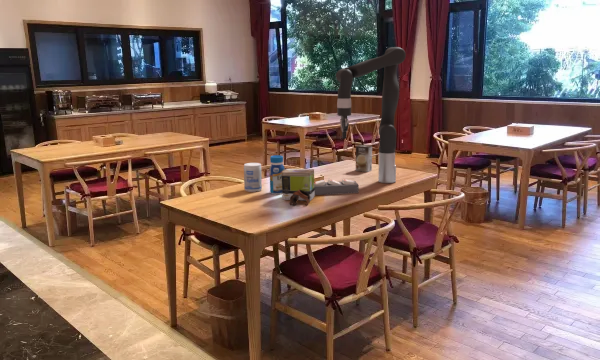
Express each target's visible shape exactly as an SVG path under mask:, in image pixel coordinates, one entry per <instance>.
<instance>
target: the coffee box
mask: <svg viewBox="0 0 600 360" xmlns="http://www.w3.org/2000/svg"><path fill="white" fill-rule="evenodd" d="M372 170H373V145H366V144H359V145H356V146H355V171H356V172H363V173H364V172H365V173H369V172H372Z"/></svg>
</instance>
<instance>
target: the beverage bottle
mask: <svg viewBox="0 0 600 360" xmlns="http://www.w3.org/2000/svg"><path fill="white" fill-rule="evenodd" d="M269 159H270V160H269V161H270V163H271V164H270V166H269V174H268V175H269V193H271V194H272V195H282V174H281V172H283V171H284V170H286V169H285V165H284V164H283V162H284V156H283V155H277V154H276V155H271V156H270V157H269Z"/></svg>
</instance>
